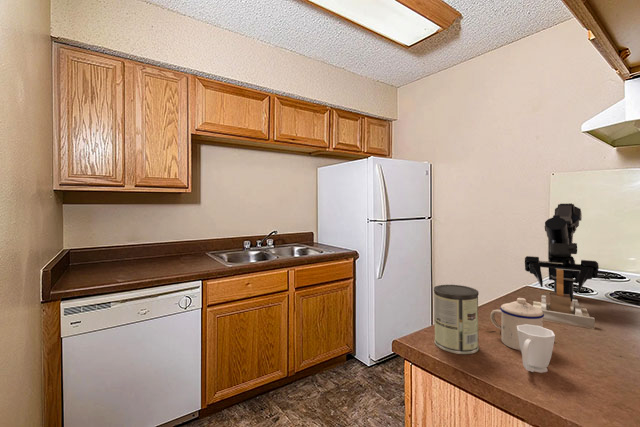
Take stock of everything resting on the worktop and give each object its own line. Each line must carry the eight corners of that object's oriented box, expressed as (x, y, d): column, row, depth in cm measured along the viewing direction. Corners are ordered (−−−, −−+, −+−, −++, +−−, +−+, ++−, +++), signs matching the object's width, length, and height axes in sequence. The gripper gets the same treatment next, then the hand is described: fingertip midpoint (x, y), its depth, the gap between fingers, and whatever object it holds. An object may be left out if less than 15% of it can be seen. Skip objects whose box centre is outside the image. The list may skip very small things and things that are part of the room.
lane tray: (533, 305, 106) (533, 294, 106) (586, 313, 97) (586, 301, 97) (531, 323, 90) (531, 309, 90) (594, 334, 81) (595, 319, 81)
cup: (559, 368, 65) (560, 330, 65) (545, 385, 58) (545, 344, 58) (522, 356, 70) (522, 321, 70) (505, 370, 64) (505, 333, 64)
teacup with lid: (550, 346, 75) (550, 299, 74) (534, 357, 70) (534, 306, 69) (499, 330, 85) (499, 289, 84) (482, 338, 80) (482, 294, 79)
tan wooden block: (549, 307, 99) (549, 267, 99) (569, 310, 96) (569, 269, 96) (550, 311, 95) (550, 270, 95) (570, 314, 92) (570, 272, 92)
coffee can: (442, 333, 83) (442, 282, 83) (483, 344, 76) (483, 288, 76) (427, 345, 76) (426, 289, 76) (471, 359, 69) (471, 297, 69)
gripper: (524, 232, 104) (523, 270, 96) (597, 235, 93) (603, 277, 85) (526, 252, 111) (524, 289, 102) (594, 257, 100) (599, 298, 91)
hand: (560, 288), depth 95 cm, fingers open, 9 cm apart
